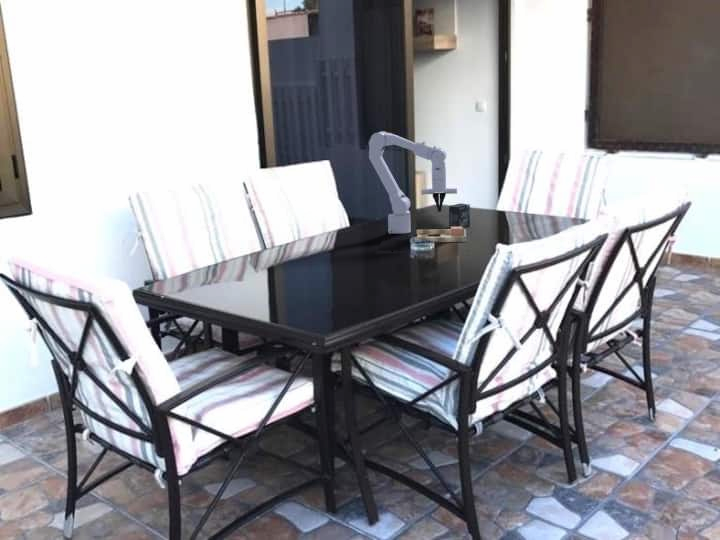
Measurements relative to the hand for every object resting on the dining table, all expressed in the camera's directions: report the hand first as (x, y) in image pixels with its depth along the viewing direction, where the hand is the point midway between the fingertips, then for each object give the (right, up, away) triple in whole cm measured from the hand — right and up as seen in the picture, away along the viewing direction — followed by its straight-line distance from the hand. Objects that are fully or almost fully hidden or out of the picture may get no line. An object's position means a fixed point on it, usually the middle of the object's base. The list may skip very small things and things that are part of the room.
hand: (439, 211), depth 304 cm
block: (+6, -11, -10) cm, 16 cm away
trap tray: (-1, -12, -9) cm, 15 cm away
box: (+10, -7, +12) cm, 17 cm away
